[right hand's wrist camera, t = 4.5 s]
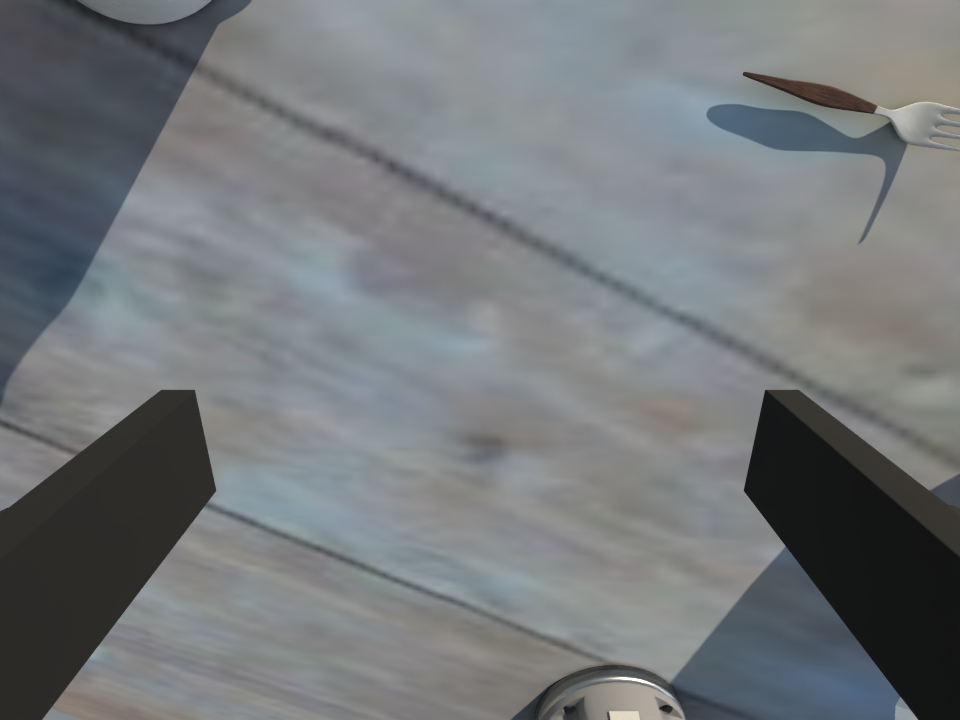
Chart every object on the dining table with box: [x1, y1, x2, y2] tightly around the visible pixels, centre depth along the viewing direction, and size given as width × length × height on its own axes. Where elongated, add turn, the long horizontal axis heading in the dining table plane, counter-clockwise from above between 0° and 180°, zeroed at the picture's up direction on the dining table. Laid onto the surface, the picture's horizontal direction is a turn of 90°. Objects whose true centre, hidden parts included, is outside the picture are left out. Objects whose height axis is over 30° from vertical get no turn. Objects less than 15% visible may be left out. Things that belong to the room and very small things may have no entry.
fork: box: [743, 72, 960, 151], centre depth 34 cm, size 3×16×2 cm, turn 76°
